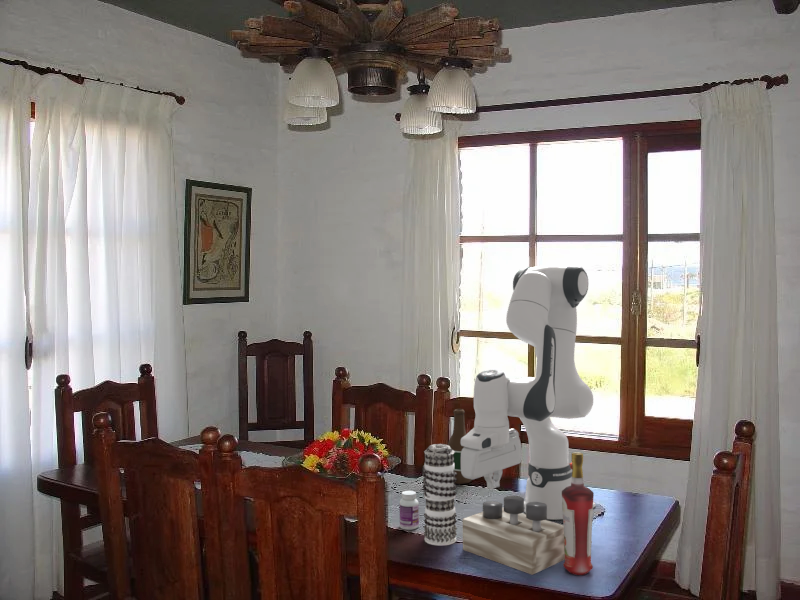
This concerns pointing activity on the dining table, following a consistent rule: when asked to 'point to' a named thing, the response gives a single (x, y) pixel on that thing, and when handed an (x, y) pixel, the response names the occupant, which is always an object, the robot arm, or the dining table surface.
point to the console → (514, 541)
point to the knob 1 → (492, 510)
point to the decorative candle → (439, 495)
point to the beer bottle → (458, 444)
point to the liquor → (577, 520)
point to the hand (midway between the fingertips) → (493, 487)
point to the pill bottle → (409, 511)
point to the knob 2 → (513, 507)
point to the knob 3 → (536, 514)
